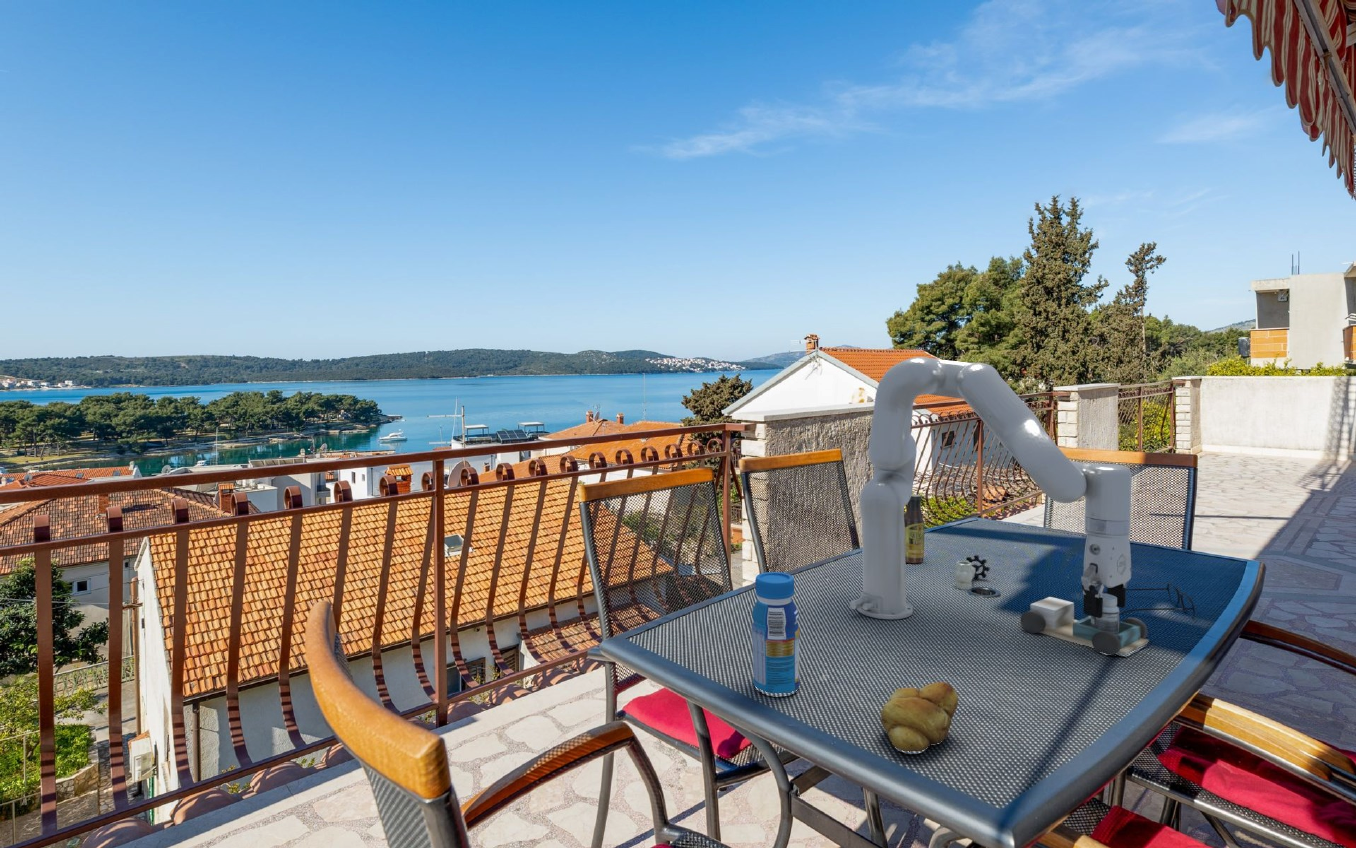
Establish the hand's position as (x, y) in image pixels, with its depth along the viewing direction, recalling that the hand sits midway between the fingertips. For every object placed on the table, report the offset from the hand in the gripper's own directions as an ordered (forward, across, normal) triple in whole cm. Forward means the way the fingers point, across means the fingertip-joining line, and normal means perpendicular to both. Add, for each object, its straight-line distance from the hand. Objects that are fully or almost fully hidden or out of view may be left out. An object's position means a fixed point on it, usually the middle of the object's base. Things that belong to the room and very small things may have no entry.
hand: (1104, 610), depth 129 cm
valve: (+7, +14, +38) cm, 41 cm away
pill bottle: (+6, 0, 0) cm, 6 cm away
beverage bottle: (+7, -66, +24) cm, 70 cm away
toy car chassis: (+7, 0, +4) cm, 8 cm away
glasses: (+7, +29, +4) cm, 30 cm away
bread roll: (+7, -60, 0) cm, 61 cm away
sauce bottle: (+7, +20, +60) cm, 64 cm away
